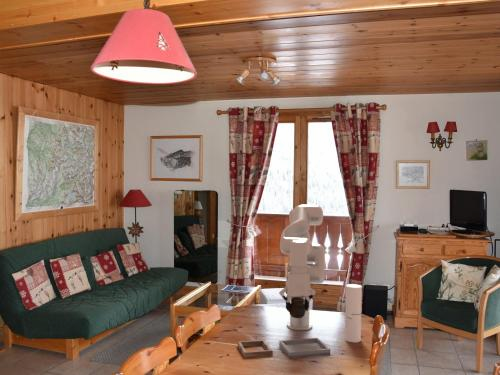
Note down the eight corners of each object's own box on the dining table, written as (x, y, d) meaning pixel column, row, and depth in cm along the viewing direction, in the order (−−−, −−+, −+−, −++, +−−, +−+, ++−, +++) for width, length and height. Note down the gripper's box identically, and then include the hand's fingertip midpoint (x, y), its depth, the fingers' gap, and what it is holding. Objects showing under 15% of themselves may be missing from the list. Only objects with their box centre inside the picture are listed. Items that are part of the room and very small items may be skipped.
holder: (237, 346, 198) (237, 341, 198) (263, 344, 201) (264, 339, 201) (244, 357, 185) (244, 352, 185) (272, 355, 188) (272, 350, 188)
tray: (279, 346, 199) (279, 340, 199) (317, 343, 203) (317, 337, 203) (289, 358, 185) (289, 352, 185) (330, 355, 190) (330, 349, 189)
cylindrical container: (361, 343, 204) (362, 288, 204) (344, 341, 206) (346, 287, 205) (360, 337, 211) (361, 284, 211) (344, 336, 213) (345, 283, 212)
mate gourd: (296, 313, 199) (297, 290, 199) (309, 317, 194) (310, 294, 193) (285, 316, 194) (285, 293, 194) (298, 321, 189) (299, 297, 188)
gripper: (280, 272, 188) (280, 314, 188) (320, 270, 191) (319, 312, 192) (276, 268, 195) (275, 308, 196) (314, 267, 199) (313, 306, 199)
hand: (297, 310), depth 194 cm, fingers closed on mate gourd, 7 cm apart
